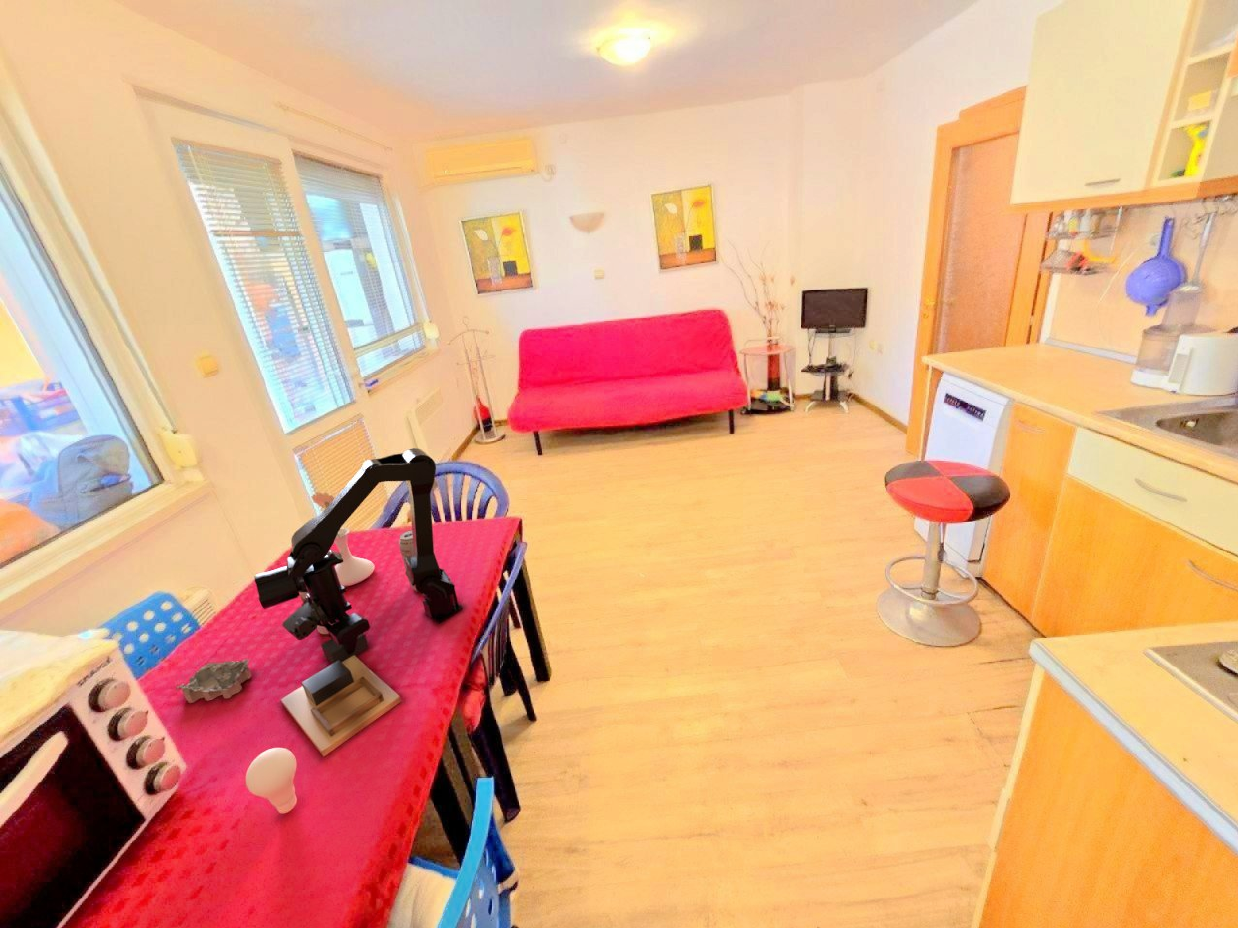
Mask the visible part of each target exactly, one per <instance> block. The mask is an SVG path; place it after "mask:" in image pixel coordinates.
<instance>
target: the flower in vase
mask: <svg viewBox="0 0 1238 928" xmlns="http://www.w3.org/2000/svg"><path fill="white" fill-rule="evenodd" d="M310 498H311V499H312V502H313V503H314V504H317V506H319V507H321V508H324V510H325V509H326V508H327V507H328V506H329V504H330V503H331V502H332V501H333V500H334V499H335V498H336V496H334V495H332V494H329V493H328V492H323V493H321V492H320V491H319V492H315V494H312V495H311V497H310ZM349 534H350V529H349V528H340V530H339V531H338V534H337V536H336V538H335V541H334V544H335V545H336V547H337V549H338V551H339V552H338V553H341V554H342V558H343V562H342V563H340V564H337V565H334V566H335V569H336V572H337V575H338V578H339V581H340V584H341V585H342V586H343V587H345V588H346V587H350V586H354V585H356V584H359V583H361V582H363V581H364V580H366V579H368V578H369V577H370V576H371V575H372V574H373V573H374V571H375V567H376V565H375V564H374V563H373V562H372V561H371V560H369V559H367V558H363V557H358V556H354V555H352V553H351V550H350V548H349V543H348V535H349Z"/></svg>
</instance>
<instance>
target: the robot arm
mask: <svg viewBox="0 0 1238 928" xmlns="http://www.w3.org/2000/svg"><path fill="white" fill-rule="evenodd" d="M436 473H437V465H436V461H435V460H434V459H433V458H432V457H431V456H430V455H429V454H427V452H426V451H424V450H423V449H421V448H418V447H417V448H416V447H414V448H409V449H408V450H405V452H402V453H401V452H400V453H394V454H390V455H387V456H383V457H381V458H373V459H368V460H366V461H365V462H363V464H362V466H361V468H360V469H359V470H358V471H357V473H356V474H354V476H353V477H352V478H351V479H350V480H349V481H348V483H347V484H346V485H345V486H344V487H343V488H342V489H341V491H340V492H339V493H338V494H337V495H336V496H335V497H336V498H335V499H334V500H333V501H332V502H331V503H330V504H329V506H328V507H327V508H326V509H325V508H324V510H323V511H322V512H321V513H319V514H318V515H317V516H315V517H314V518H311V519H309V520H308V521H307V522H305V523H304V524H303V525H302V526H300V528H298V529H297V530H296V531H294V533H293V534H292V535H291V541H290V542H291V550H290V552H289V554H288V557H287V559H286V565H284V566H282V567H279V568H276V569H273V570H270V571H266V572H260V573H256V574H255V575H254V583H255V585H256V589H257V593H258V601H259V603H260V605H261V608H262V609H263V610H267V609H270V608H272V607H275V606H278V605H281V604H283V603H287V602H290V601H293V600H295V599H298V598H299V597H300V593H299V591H303V589H302V585H301V582H300V579H299V577H300V576H302V577H303V580H304V583H305V585H306V588H307V591H308V594H306V597H305V598H306V600H305V601H304V602H303V601H302V602H303V603H302V604H301V606H299V608H297V609H296V610H295V611H294V612H293V613H291V614H290V615H289V616H288V617H286V618H285V620H284V621H283V622H282V624H281V626H282V627H283V628H284V629H285V630H286V631H287V632H288V633H290V634H291V635H292V636H293V637H294V638H296V639H297V640H298V641H302V640H304V639H306V638H308V637H309V636H310V635H311V634H313V632H315V631H316V630H317V625H318V626H323V627H325V628H326V630H327V631H328V632H329V634H328V638H330V639H332V640H333V641H335V642H336V643H337V644H339V645H343V647H344V648H345V650H346V651H347V653H348V654H349V655H350V654H352V653H354V651H355V647H356V643H357V639H358V636H359V635H361V634H362V633H364V634H365V633H366V632H368V631H369V630H370V629H371V625H370V622H369V619H367V618H366V617H365V616H364V615H362V614H361V613H357V612H353V613H352V614H349V613H347V612H349V611H350V610H352V609H353V607H352V603H350V602H348V601H347V600H346V595H345V593H347V590H346V586H345V587H343V586H342V585H341V584H340V581H339V578H338V575H337V572H336V569H335V566H336V565H337V564H340V563H342V562H343V558H342V554H341V553H340V552H337V551H334V550H332V549H331V548H332V546H333V545H334V544H335V542H334V541H335V538H336V536H337V534H338V531H339V530H340V529H342V527H343V526H344V524H345V523H346V522H347V521H348V519H349V518H351V516H352V515H353V514H355V512H356V510H357V509H358V508H359V507H360V506H361V505H362V504H363V502H365V500H366V499H367V498H368V497H369V496H370V494H371V493H372V492H373V491H374V490H375V489H376V487H377V486H378V485H379V484H380V483H384V482H405V483H406V486H407V489H408V493H409V494H408V495H409V506H410V507H409V508H410V518H411V521H410V522H411V530H412V535H413V554H412V557H410V558H405V561H406V565H407V570H406V569H405V572H404V573H405V575H406V576H407V579H408V581H409V580H410V582H411V584H412V586H415V588H416V590H417V591H416V592H418V593H419V594H421V595H422V596H423V599H424V600H422V604H423V608H424V615H426V617H428V618H430V619H431V620H433V621H435V622H437V623H438V624H440V623H441V624H442V623H443V622H444V621H446V620H448V619H450V617H453V616H454V615H455V614H457V613H458V612H460V611H462V610H463V609H464V607H463V605H462V604H460V603H459V601H458V597H457V592H456V589H455V588H456V587H455V584H454V582H453V581H452V580H451V578H450V576H449V575H448V574H447V572H446V571H445V569H443V568H441V567H440V565H439V562H438V559H437V557H436V554H435V549H434V548H435V547H434V531H433V530H434V529H433V511H432V497H431V494H432V490H433V487H434V484H435V481H436V480H435V479H436Z"/></svg>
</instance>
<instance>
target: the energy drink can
mask: <svg viewBox="0 0 1238 928" xmlns="http://www.w3.org/2000/svg"><path fill="white" fill-rule="evenodd" d="M398 548H399V550H400V554H401V557H402V561H403V565H404V569H405V571H406V570H407V565H406V561H405V558H410V557H412V554H413V535H412V529H410V530H406V531H403V532H402V533H401V534H400V535H399V541H398ZM408 583H409V586H410V589H412V590H413V591H415V592H418V591H417V590H416V588H415V586H412V584H411V582H410V580H409V579H408Z"/></svg>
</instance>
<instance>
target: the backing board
mask: <svg viewBox="0 0 1238 928" xmlns="http://www.w3.org/2000/svg"><path fill="white" fill-rule="evenodd" d="M301 685H302V686H300V687H298V688H297V689H295V690H293V691H292V692H290V693H289V694H287V695H285V696H284V697H281V698H280V699H279V700H280V702H281V705H282V706H283V707H284V708H285V709H286V711H287V712H288V714H289V715H290V716H291V717H292V718H293V720H294V721H295V723H297V725H298V726H299V727H300V729H301V730H302V731H303V733H304V734H305V735H306V736H307V738H308V739H309V740H310V742H311V743H312V744H313V745H314V746H315V748H316V749H317V750H318V752H319V753H320V754H321V755H322V757H325V756H327V755H328V754H330V753H331V752H333V751H334V750H335V749H336V748H338V747H339V746H341V745H343V744H344V743H345V742H346V741H348V740H349V739H350V738H352V737H353V736H355V735H356V734H358V733H359V732H361V731H362V730H363V729H365V728H366V727H368V726H369V725H370V724H372V723H373V722H375V721H376V720H377V719H378V718H380V717H382V716H383V715H384V714H386V713H387V712H389V711H390V710H391V709H393V708H394V707H396V706H397V705H398V704H400V703H402V698H401V696H400V695H399V694H398V693H397V692H396V691H395V690H394V689H393V688H391V687H390V686H389V685H388V684H387V683H386V682H385V681H384V680H382V679H381V678H380V677H379V676H378V675H377V674H376V673H375V672H374V671H373V670H371V669H370V668H369V667H368V666H366V665H365V664H364V662H362V661H361V660H360V659H359V658H358V657H357V656H356V655H355V656H354V655H353V656H352V657H350V658H348V659H347V660H345V661H343V662H341V661H339V660H338V661H336V662H335V663H333V664H332V663H331V664H330V665H328V666H326V667H325V668H323V669H321V670H320V671H318V672H316V673H314V674H312V675H311V676H310V677H308V678H306V679H305V680H303V681H301Z"/></svg>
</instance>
